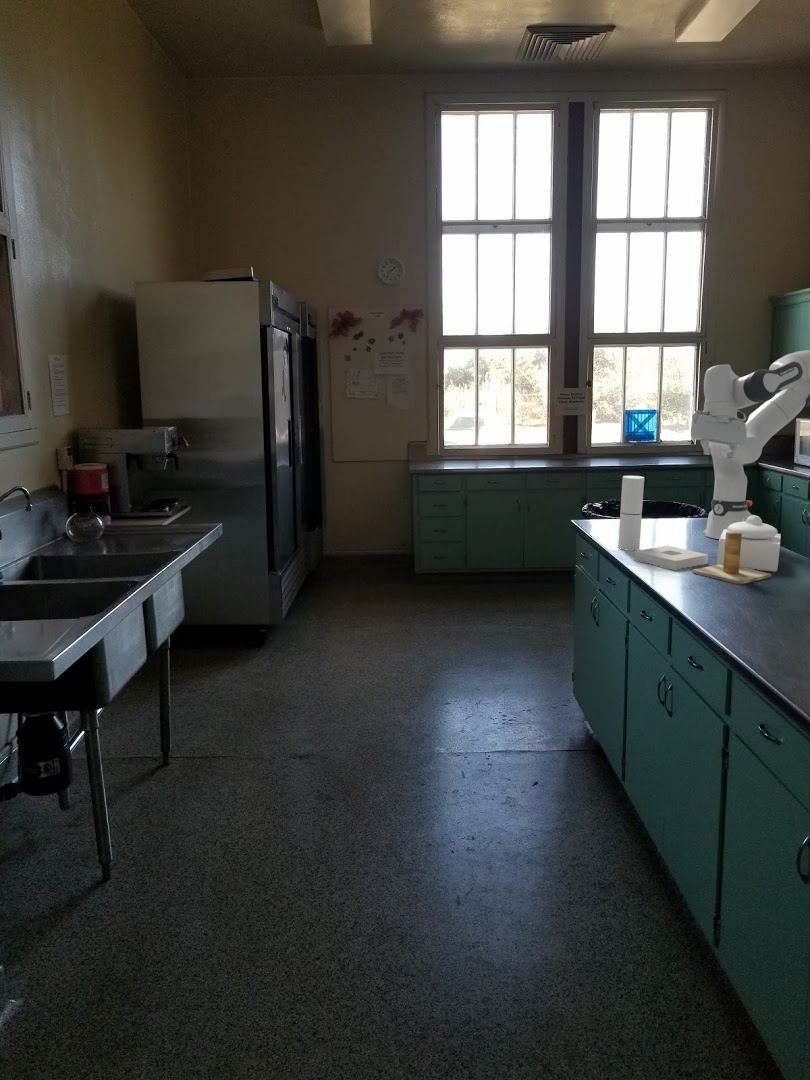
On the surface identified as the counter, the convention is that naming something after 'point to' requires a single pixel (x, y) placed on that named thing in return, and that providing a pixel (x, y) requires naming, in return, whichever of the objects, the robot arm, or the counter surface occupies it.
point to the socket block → (671, 557)
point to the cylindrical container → (631, 512)
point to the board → (737, 578)
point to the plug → (732, 552)
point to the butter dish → (754, 544)
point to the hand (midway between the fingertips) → (719, 456)
